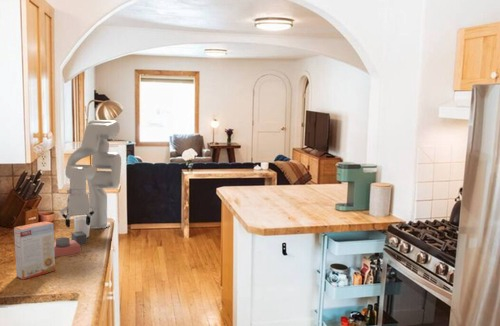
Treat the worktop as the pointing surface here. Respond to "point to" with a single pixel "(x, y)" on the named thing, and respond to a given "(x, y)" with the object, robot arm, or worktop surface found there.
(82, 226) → the white cup
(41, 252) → the cracker box
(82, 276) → the worktop surface
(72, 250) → the pink two-prong plug
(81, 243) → the gray rectangular box
